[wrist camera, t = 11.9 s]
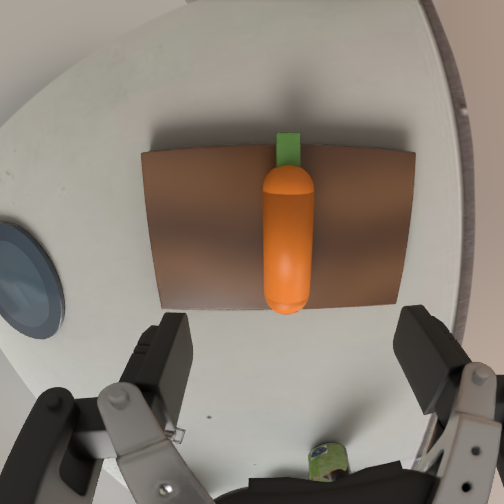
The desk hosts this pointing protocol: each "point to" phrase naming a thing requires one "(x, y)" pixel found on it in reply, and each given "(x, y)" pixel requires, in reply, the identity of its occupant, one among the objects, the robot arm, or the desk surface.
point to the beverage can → (328, 462)
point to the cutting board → (251, 224)
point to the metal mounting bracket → (173, 435)
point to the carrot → (287, 228)
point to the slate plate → (28, 285)
